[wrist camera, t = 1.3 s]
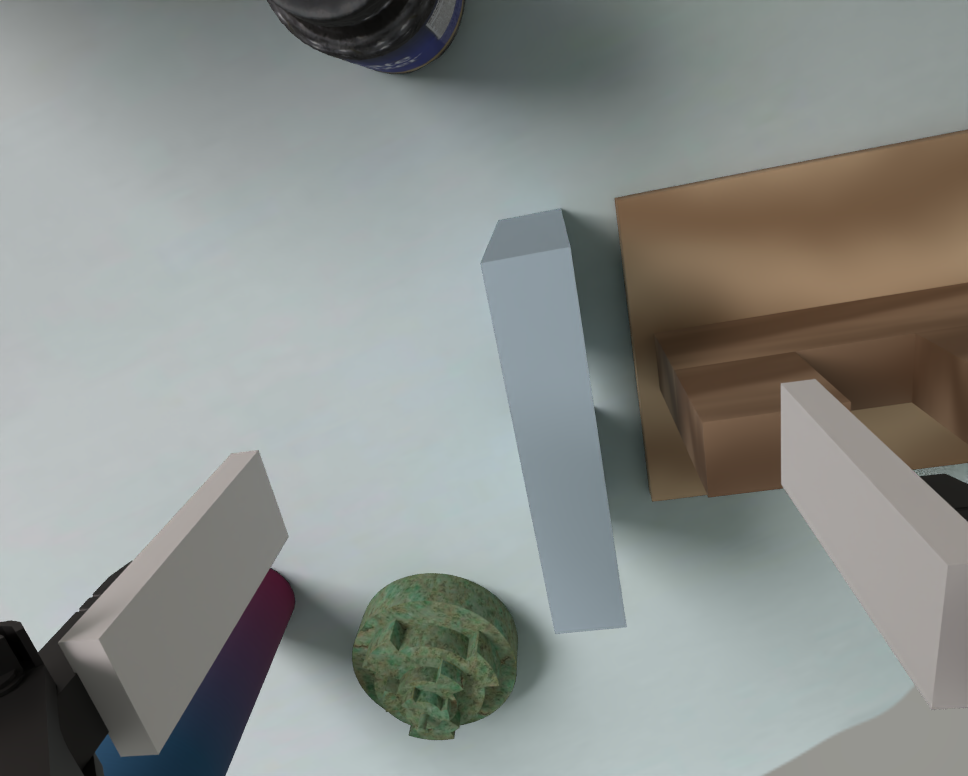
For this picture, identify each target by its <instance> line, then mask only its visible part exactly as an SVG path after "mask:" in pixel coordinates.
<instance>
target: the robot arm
mask: <svg viewBox="0 0 968 776" xmlns="http://www.w3.org/2000/svg"><path fill="white" fill-rule="evenodd" d="M781 485H782V486H783V488H784V489H785V491H786V492H787V494H788V495H789V497H790V498H791V500H792V501H793V503H794V504H795V506H796V507H797V509H798V510H799V512H800V513H801V515H802V516H803V518H804V519H805V521H806V522H807V524H808V525H809V527H810V528H811V530H812V531H813V533H814V534H815V536H816V537H817V539H818V540H819V542H820V543H821V545H822V546H823V548H824V549H825V551H826V552H827V554H828V555H829V557H830V558H831V560H832V561H833V563H834V564H835V566H836V567H837V569H838V570H839V572H840V573H841V575H842V576H843V578H844V579H845V581H846V582H847V584H848V585H849V587H850V588H851V590H852V591H853V593H854V594H855V596H856V597H857V599H858V600H859V602H860V603H861V605H862V606H863V608H864V609H865V611H866V612H867V614H868V615H869V617H870V618H871V620H872V621H873V623H874V624H875V626H876V627H877V629H878V630H879V632H880V633H881V635H882V636H883V638H884V639H885V641H886V642H887V644H888V645H889V647H890V648H891V650H892V651H893V653H894V654H895V656H896V657H897V659H898V660H899V662H900V663H901V665H902V666H903V668H904V669H905V671H906V672H907V674H908V675H909V677H910V678H911V680H912V681H913V683H914V684H915V686H916V687H917V689H918V690H919V692H920V693H921V695H922V696H923V698H924V699H925V701H926V702H927V704H928V705H929V707H930V708H931V710H936V709H955V708H968V484H967V483H964V482H962V481H960V480H958V479H956V478H953V477H951V476H949V475H947V474H936V475H927V476H918V475H917V474H916V473H915V472H914V471H913V470H912V469H911V468H910V467H909V466H908V465H907V464H905V463H904V462H903V461H902V460H901V459H900V458H899V457H898V456H897V455H896V454H895V453H894V452H893V451H892V450H890V449H889V448H888V447H887V446H886V445H885V444H884V443H883V442H882V441H881V440H880V439H879V438H878V437H877V436H876V435H874V434H873V433H872V432H871V431H870V430H869V429H868V428H867V427H866V426H865V425H864V424H863V423H862V422H861V421H860V420H858V419H857V418H856V417H855V416H854V415H853V414H852V413H851V412H850V411H849V410H848V409H847V408H846V407H845V406H844V405H842V404H841V403H840V402H839V401H838V400H837V399H836V398H835V397H834V396H833V395H832V394H831V393H830V392H829V391H827V390H826V389H825V388H824V387H823V386H822V385H821V384H820V383H819V382H818V381H817V380H816V379H811V380H803V381H795V382H787V383H781ZM288 537H289V536H288V533H287V531H286V528H285V525H284V522H283V519H282V516H281V513H280V510H279V508H278V505H277V502H276V499H275V496H274V493H273V490H272V488H271V485H270V482H269V479H268V476H267V473H266V470H265V468H264V465H263V462H262V459H261V456H260V453H259V450H255V451H248V452H240V453H232V454H231V455H230V456H229V457H228V458H227V459H226V460H225V461H224V462H223V463H222V464H221V465H220V467H219V468H218V469H217V470H216V471H215V472H214V473H213V474H212V475H211V476H210V477H209V479H208V480H207V481H206V482H205V483H204V484H203V485H202V486H201V487H200V488H199V489H198V490H197V492H196V493H195V494H194V495H193V496H192V497H191V498H190V499H189V500H188V501H187V502H186V504H185V505H184V506H183V507H182V508H181V509H180V510H179V511H178V512H177V513H176V514H175V516H174V517H173V518H172V519H171V520H170V521H169V522H168V523H167V524H166V525H165V526H164V528H163V529H162V530H161V531H160V532H159V533H158V534H157V535H156V536H155V537H154V538H153V539H152V541H151V542H150V543H149V544H148V545H147V546H146V547H145V548H144V549H143V550H142V551H141V553H140V554H139V555H138V556H137V557H136V558H135V559H134V560H133V561H131V562H129V563H128V564H126V565H125V566H124V567H122V568H121V569H119V570H118V571H117V572H115V573H114V574H112V575H111V576H110V577H108V578H107V580H106V581H105V582H104V583H103V584H102V585H101V586H100V587H99V588H98V589H97V590H96V591H95V592H94V593H93V597H92V598H89V599H88V600H87V601H86V602H85V603H84V604H83V605H82V606H81V607H80V608H79V609H80V611H79V612H76V613H75V614H74V615H73V616H72V617H71V618H70V619H69V620H68V621H67V622H66V623H65V624H64V625H63V626H62V628H61V629H60V630H59V631H58V632H57V633H56V634H55V635H54V636H53V637H52V638H51V639H50V640H49V641H48V642H47V643H46V645H45V646H44V647H43V648H42V649H41V650H40V651H39V652H37V650H36V648H35V647H34V645H33V643H32V641H31V640H30V638H29V636H28V634H27V633H26V631H25V629H24V627H23V626H22V624H21V622H17V621H5V622H0V776H104V771H103V766H102V764H101V762H100V760H99V759H98V757H97V755H96V753H95V751H96V750H97V749H98V747H99V746H100V744H101V743H102V741H103V740H104V739H105V737H106V736H107V734H108V735H109V736H110V738H111V740H112V742H113V744H114V745H115V747H116V749H117V751H118V753H119V754H120V756H121V757H125V756H142V755H159V753H160V751H161V750H162V748H163V746H164V745H165V743H166V741H167V739H168V738H169V736H170V734H171V733H172V731H173V729H174V728H175V726H176V724H177V723H178V721H179V719H180V718H181V716H182V714H183V713H184V711H185V709H186V708H187V706H188V704H189V703H190V701H191V699H192V698H193V696H194V694H195V693H196V691H197V689H198V688H199V686H200V684H201V683H202V681H203V679H204V678H205V676H206V674H207V673H208V671H209V669H210V668H211V666H212V664H213V663H214V661H215V659H216V658H217V656H218V654H219V653H220V651H221V649H222V648H223V646H224V644H225V642H226V641H227V639H228V637H229V636H230V634H231V632H232V631H233V629H234V627H235V626H236V624H237V622H238V621H239V619H240V617H241V616H242V614H243V612H244V611H245V609H246V607H247V606H248V604H249V602H250V601H251V599H252V597H253V596H254V594H255V592H256V591H257V589H258V587H259V586H260V584H261V582H262V581H263V579H264V577H265V576H266V574H267V572H268V571H269V569H270V567H271V566H272V564H273V562H274V561H275V559H276V557H277V556H278V554H279V552H280V551H281V549H282V547H283V545H284V544H285V542H286V540H287V539H288Z"/></svg>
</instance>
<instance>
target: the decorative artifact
mask: <svg viewBox="0 0 968 776" xmlns="http://www.w3.org/2000/svg"><path fill="white" fill-rule="evenodd" d="M517 646H518V636H517V630H516V626H515V623H514V620H513V618H512V616H511V614H510V613H509V611H508V610H507V608H506V607H505V606H504V604H503V603H502V602H501V601H500V600H499V599H498V598H497V597H496V596H495V595H493V594H492V593H491V592H489V591H488V590H487V589H485V588H483V587H482V586H480V585H478V584H476V583H474V582H472V581H469V580H467V579H464V578H461V577H457V576H453V575H447V574H437V573H426V574H417V575H412V576H408V577H404V578H401V579H399V580H396V581H394V582H392V583H390V584H389V585H387V586H386V587H384V588H383V589H382V590H380V591H379V592H378V593H377V594H376V595H375V596H374V597H373V599H372V600H371V601H370V603H369V605H368V606H367V609H366V611H365V613H364V616H363V619H362V622H361V625H360V628H359V630H358V633H357V636H356V639H355V642H354V645H353V651H352V662H353V668H354V672H355V675H356V677H357V679H358V681H359V683H360V685H361V686H362V688H363V689H364V691H365V692H366V693H367V694H368V695H369V697H370V698H371V699H372V700H373V701H375V702H376V703H377V704H378V705H379V706H381V707H382V708H384V709H385V710H386V712H389V713H390V714H392V715H393V716H394V717H396V718H397V719H399V720H401V721H402V722H404V723H407V724H409V725H411V727H410V732H409V736H413V737H417V738H421V739H428V740H448V739H454V736H455V730H457V729H458V728H459V727H460V725H464V724H468V723H472V722H475V721H478V720H480V719H482V718H484V717H486V716H488V715H490V714H491V713H493V712H494V711H496V710H497V709H498V708H499V707H500V706H501V705H502V704H503V703H504V702H505V701H506V700H507V698H508V697H509V695H510V693H511V692H512V689H513V687H514V684H515V680H516V671H517Z"/></svg>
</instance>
